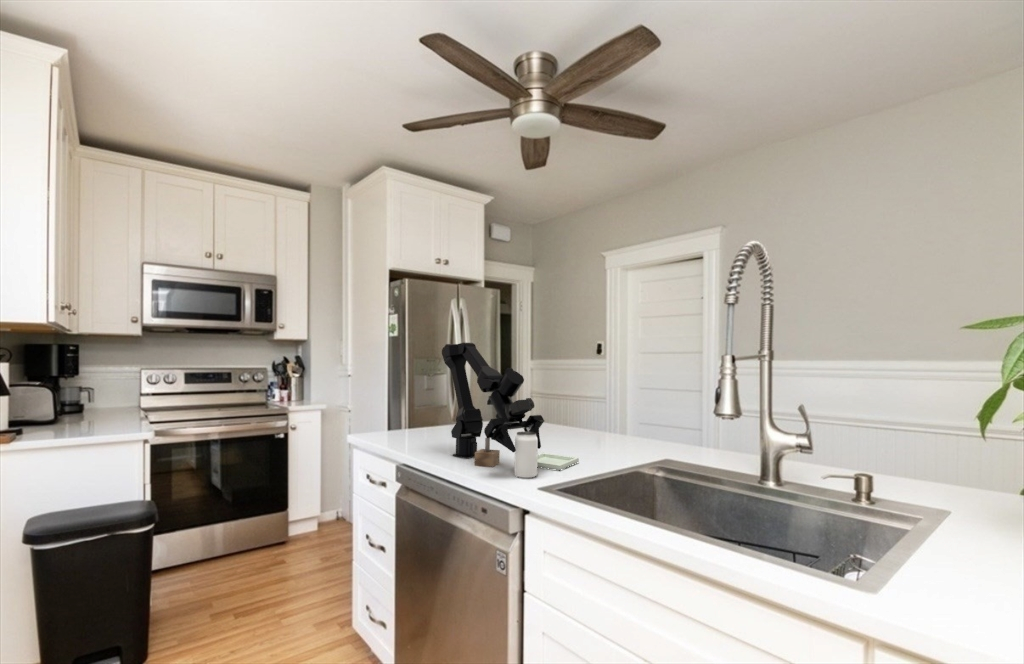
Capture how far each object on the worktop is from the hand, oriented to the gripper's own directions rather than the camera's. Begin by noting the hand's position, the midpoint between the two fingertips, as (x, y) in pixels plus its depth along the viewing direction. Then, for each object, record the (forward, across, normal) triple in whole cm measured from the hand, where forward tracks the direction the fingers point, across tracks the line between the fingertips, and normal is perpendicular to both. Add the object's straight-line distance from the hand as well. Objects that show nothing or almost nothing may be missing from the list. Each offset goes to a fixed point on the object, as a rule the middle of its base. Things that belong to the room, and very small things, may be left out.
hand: (527, 449), depth 138 cm
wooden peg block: (-8, -1, +18) cm, 20 cm away
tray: (0, +16, +10) cm, 19 cm away
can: (+5, 0, +6) cm, 8 cm away
